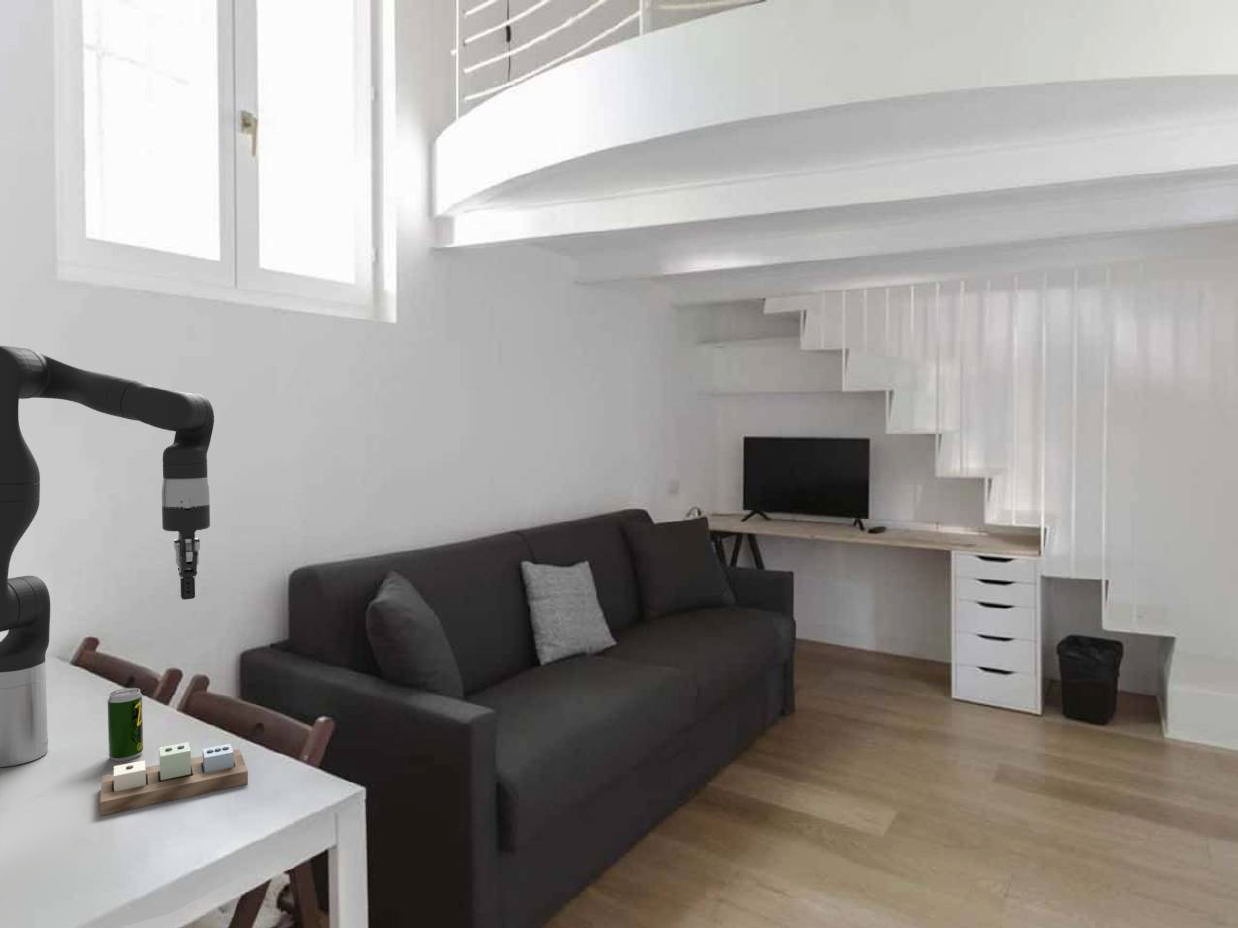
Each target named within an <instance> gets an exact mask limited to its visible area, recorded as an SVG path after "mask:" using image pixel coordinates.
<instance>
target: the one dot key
mask: <svg viewBox="0 0 1238 928" xmlns="http://www.w3.org/2000/svg"><path fill="white" fill-rule="evenodd" d="M145 767H146V760H140V761H134V762H129V763H124V764H117V765H114V766H113V774H114V792H116V791H121V790H126V789H130V788H135V787H140V786H145V785H146V768H145Z"/></svg>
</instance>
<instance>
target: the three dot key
mask: <svg viewBox="0 0 1238 928" xmlns="http://www.w3.org/2000/svg"><path fill="white" fill-rule="evenodd" d="M233 750H234V749H233V746H232V744H231V743H228V744H227V743H226V744H221V745H215V746H212V747H211V746H210V747H206V748H202V756H203V773H208V772H212V771H217V770H222V769H227V768H232V767H234V755H233Z"/></svg>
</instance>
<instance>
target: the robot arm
mask: <svg viewBox="0 0 1238 928" xmlns="http://www.w3.org/2000/svg"><path fill="white" fill-rule="evenodd" d="M32 398H38V399H53V400H54V399H55V400H56V399H57V400H63V401H69V402H73V403H77V404H80V405H82V406H85V407H87V408H89V409H91V410H94V411H97V412H99V413H102V414H104V415H105V414H106V415H110V416H115V417H118V418H122V419H127V420H131V421H137V422H141V423H143V424H146V425H149V426H151V427H154V428H157V429H161V430H165V431H170V432H175V434H174V439H173V442H172V444H171V445H169V446H167V447H166V448H164V450H163V454H162V478H163V479H162V487H161V515H162V516H161V517H162V518H161V520H162V522H161V523H162V530H163V531H166V532H178V539H174V540H173V548H174V550H175V563H176V566H177V571H178V576H179V580H180V599H182V600H191V599H195V597H196V580H195V579H196V577H197V574H198V571H197V570H198V568H197V567H198V565H199V561H200V560H199V559H200V558H199V557H200V556H199V555H200V554H199V551H200V549H201V541H200V538H198V537H197V538H196V532H197V531H202V530H207V529H209V528H210V527H211V513H210V511H211V509H210V505H211V503H210V486H209V479H208V451H209V448H210V443H211V440H212V434H213V430H214V425H215V414H214V413H215V412H214V409H213V406H212V404H211V402H210V400H209V399H208V398H207V397H205V396H204V395H203V394H200V393H195V392H186V391H185V392H183V391H175V390H170V389H169V390H168V389H165V388H158V387H155V386H153V385H151V384H149V383H145V382H143V381H142V382H141V381H139V380H134V379H131V378H125V377H121V376H116V375H111V374H106V373H100V372H96V371H95V372H94V371H90V370H86V369H83V368H79V367H76V366H73V365H70V364H67V363H65V362H63V361H60V360H58V359H56V358H52V357H50V356H47V355H45V354H43V353H41V352H38V351H36V350H33V349H30V348H24V347H15V346H7V345H0V633H1V632H7V634H6V635H5V636H4V638H3V639H2V640H1V641H0V768H4V767H5V768H6V767H13V766H18V765H22V764H27V763H29V762H32V761H35V760H37V759H40V758H41V757H43V756H45V755H46V754H48V751H49V737H48V733H49V732H48V703H47V701H48V700H47V699H48V697H47V671H46V669H47V668H46V667H47V665H46V662H47V661H46V653H47V650H48V647H49V645H50V633H51V632H50V630H51V629H50V627H51V625H50V624H51V597H50V591H49V589H48V587H47V585H46V583H45V582H44V581H43V580H42V579H41V578H40V577H38V576H35V575H23V576H16V577H10V578H9V568H10V563H11V559H12V556H13V553H14V551H15V549H16V547H17V545H18V543H19V541H20V540H21V539H22V537H23V536H24V534H25V533H26V532H27V530H28V529H29V527H30V526H31V524H32V522H33V521H34V519H35V517H36V515H37V513H38V510H39V507H40V500H41V498H40V497H41V493H40V492H41V491H40V490H41V475H40V468H39V466H38V464H37V460H36V459H35V457H34V455H33V452H32V451H31V449H30V447H29V446H28V444H27V442H26V440H25V439H24V435H22V431H21V428H20V427H21V426H20V423H19V422H20V421H19V405H20V404H19V402H20V401H19V400H20V399H21V400H25V399H32Z"/></svg>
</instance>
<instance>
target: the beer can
mask: <svg viewBox="0 0 1238 928" xmlns="http://www.w3.org/2000/svg"><path fill="white" fill-rule="evenodd" d="M107 722H108V723H107V728H108V729H107V731H108V732H107V733H108V734H107V735H108V736H107V737H108V738H107V739H108V756H109V758H110V760H111V761H113V762H125V761H131V760H134V759H136V758H139V757H140V756H141V755H142V752H143V751H144V732H143V730H144V727H143V726H144V725H143V694H142V693H141V689H140V688H137V687H126V688H121V689H117V690H114V691H111V692H110V693H109V694H108V698H107Z"/></svg>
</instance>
